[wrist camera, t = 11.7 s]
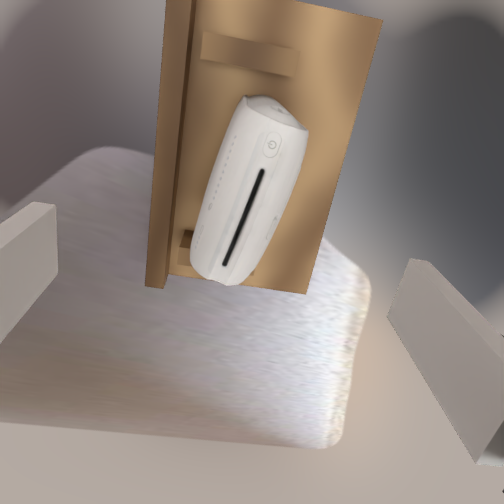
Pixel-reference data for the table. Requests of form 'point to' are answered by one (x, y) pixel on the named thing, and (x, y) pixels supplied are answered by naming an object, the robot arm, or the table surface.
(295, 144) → the photo printer
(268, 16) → the ledge shelf
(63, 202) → the table surface
